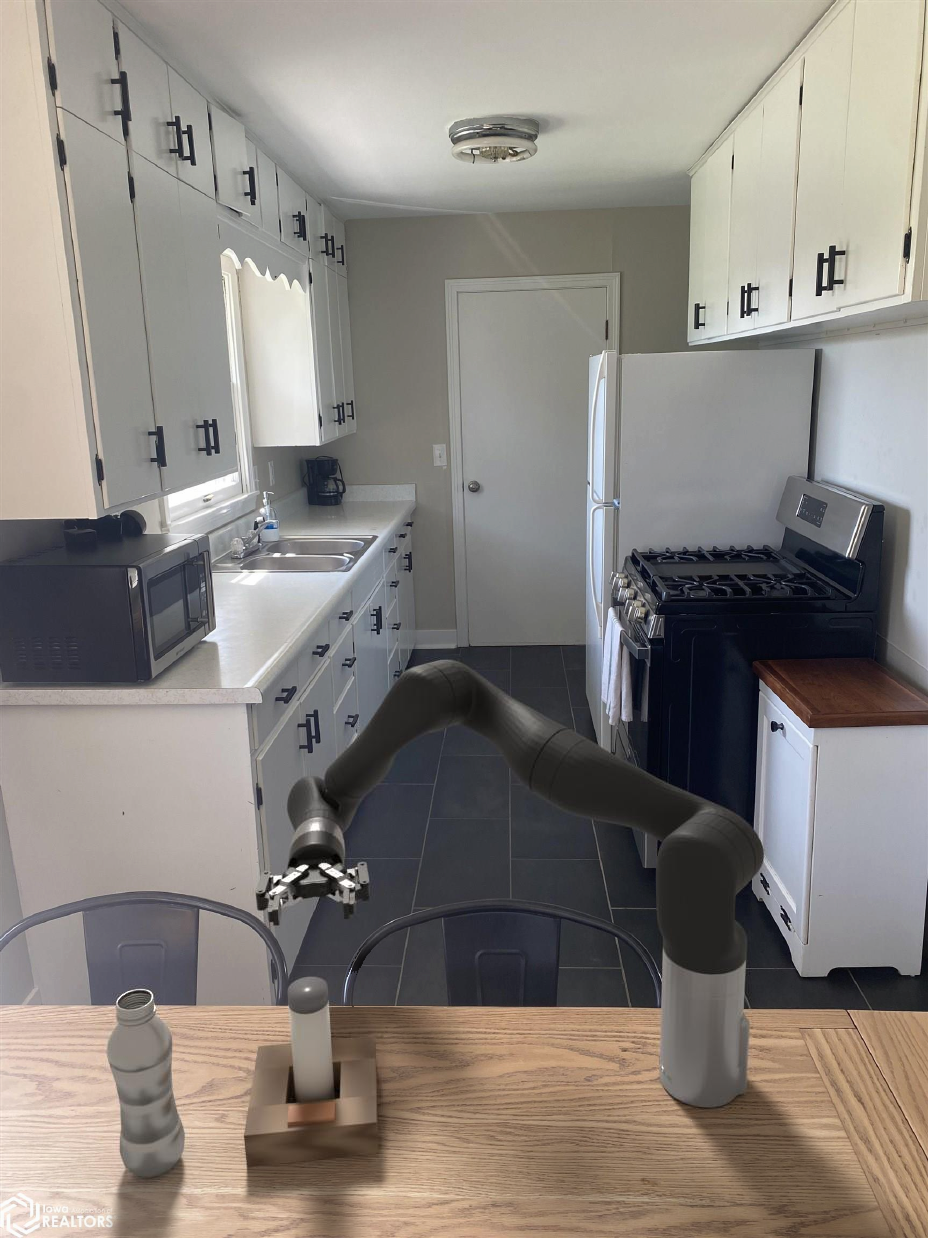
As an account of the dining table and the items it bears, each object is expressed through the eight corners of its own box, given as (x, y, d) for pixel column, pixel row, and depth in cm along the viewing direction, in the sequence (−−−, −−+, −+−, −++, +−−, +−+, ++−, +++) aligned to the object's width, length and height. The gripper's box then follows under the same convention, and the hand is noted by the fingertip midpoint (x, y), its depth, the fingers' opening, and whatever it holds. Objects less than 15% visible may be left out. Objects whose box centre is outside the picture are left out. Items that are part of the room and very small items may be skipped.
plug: (335, 1095, 109) (328, 975, 105) (334, 1124, 105) (326, 999, 101) (297, 1099, 108) (289, 978, 105) (295, 1127, 104) (286, 1003, 100)
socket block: (376, 1064, 114) (374, 1032, 113) (378, 1153, 100) (376, 1119, 99) (260, 1075, 113) (257, 1043, 112) (246, 1167, 99) (243, 1132, 98)
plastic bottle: (168, 1191, 96) (148, 1023, 92) (109, 1182, 98) (86, 1016, 93) (197, 1143, 102) (180, 984, 98) (142, 1135, 104) (122, 977, 99)
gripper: (262, 834, 127) (248, 893, 111) (367, 824, 128) (368, 882, 112) (267, 884, 128) (254, 949, 112) (370, 874, 130) (372, 937, 114)
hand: (311, 915), depth 112 cm, fingers open, 8 cm apart
